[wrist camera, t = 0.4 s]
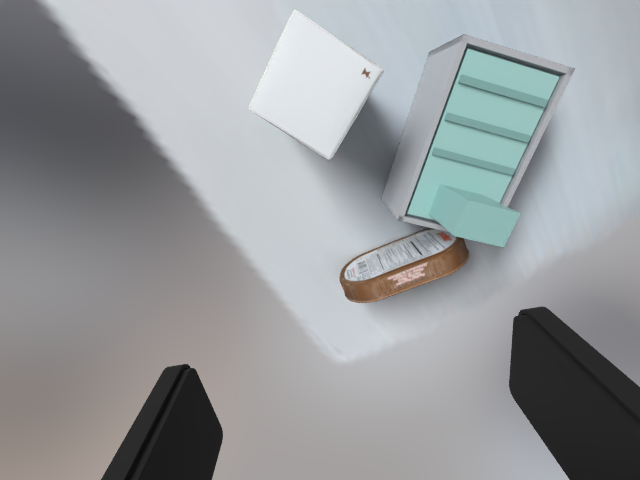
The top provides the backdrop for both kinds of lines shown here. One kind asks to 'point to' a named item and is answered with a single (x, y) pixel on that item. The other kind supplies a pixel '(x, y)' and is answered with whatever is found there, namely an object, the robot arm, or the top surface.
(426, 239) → the tin
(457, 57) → the grey open box
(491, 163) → the mint ridged stand
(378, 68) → the supplement box
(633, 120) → the top surface
